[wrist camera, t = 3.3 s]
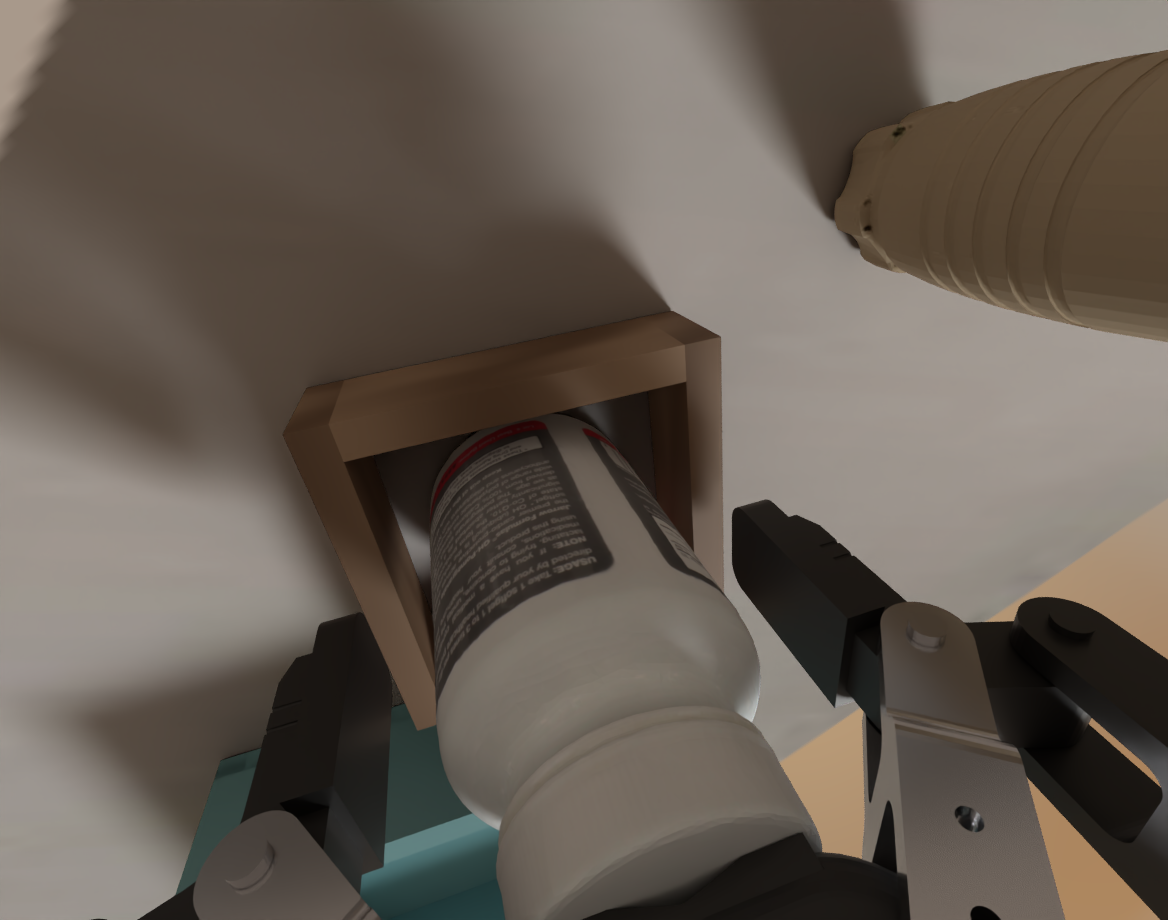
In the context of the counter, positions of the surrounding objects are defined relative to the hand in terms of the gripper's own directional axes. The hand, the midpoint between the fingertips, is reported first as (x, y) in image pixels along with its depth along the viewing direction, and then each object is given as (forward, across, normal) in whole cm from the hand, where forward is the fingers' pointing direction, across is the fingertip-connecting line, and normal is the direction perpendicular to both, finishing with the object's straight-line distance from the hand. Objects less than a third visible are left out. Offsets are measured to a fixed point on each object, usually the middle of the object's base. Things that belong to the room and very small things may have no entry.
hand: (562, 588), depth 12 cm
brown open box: (+4, 0, 0) cm, 4 cm away
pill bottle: (+4, 0, 0) cm, 4 cm away
